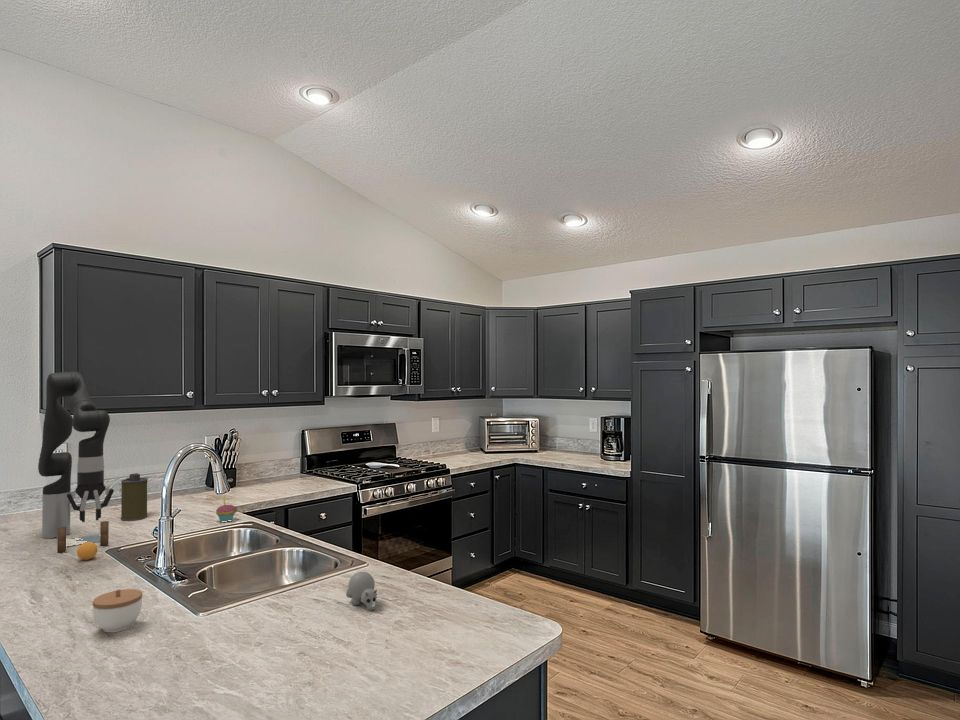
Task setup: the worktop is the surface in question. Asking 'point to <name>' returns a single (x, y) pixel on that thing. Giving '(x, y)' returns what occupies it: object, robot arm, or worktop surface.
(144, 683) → the worktop surface
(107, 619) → the lidded jar
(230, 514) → the cupcake
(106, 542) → the post
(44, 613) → the worktop surface
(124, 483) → the canister
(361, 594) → the chubby cartoon animal
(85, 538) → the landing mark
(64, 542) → the post
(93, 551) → the ball
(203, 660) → the worktop surface
